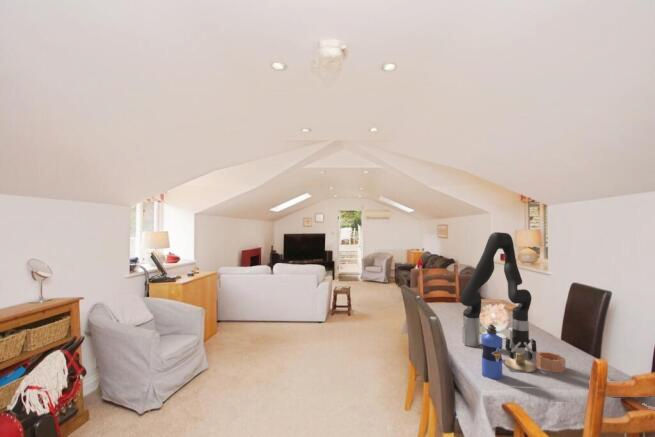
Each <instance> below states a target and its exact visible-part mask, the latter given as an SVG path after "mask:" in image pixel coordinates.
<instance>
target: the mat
mask: <svg viewBox="0 0 655 437" xmlns="http://www.w3.org/2000/svg"><path fill="white" fill-rule="evenodd" d="M505 360H506V359H502V365H504V366H505V367H506V368H507V370H509V372H510V373H522V374H523V373H524V374H525V373H526V374H541V375H542V374H544V373H543V372H542V371H541V369H540V368H538V367H536V371H534V372H520V371H516V370H513V369H511V368H509V367H507V366H506V364H505ZM528 361H529V362H531V360H528Z"/></svg>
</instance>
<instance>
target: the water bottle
mask: <svg viewBox="0 0 655 437" xmlns="http://www.w3.org/2000/svg"><path fill="white" fill-rule="evenodd" d="M486 332H487V333H485V334H482V335H481V336H480V338H481V342H480V344H481V346H482V354H481V375H482V376H483V377H484V378H488V379H491V380H501V379H503V363H502V360H503V357H502V350H503V338H502V336H500V335H498V334H497V332H498V331H497V327H496V326H495V325H494V324H489V325H487V329H486Z"/></svg>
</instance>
